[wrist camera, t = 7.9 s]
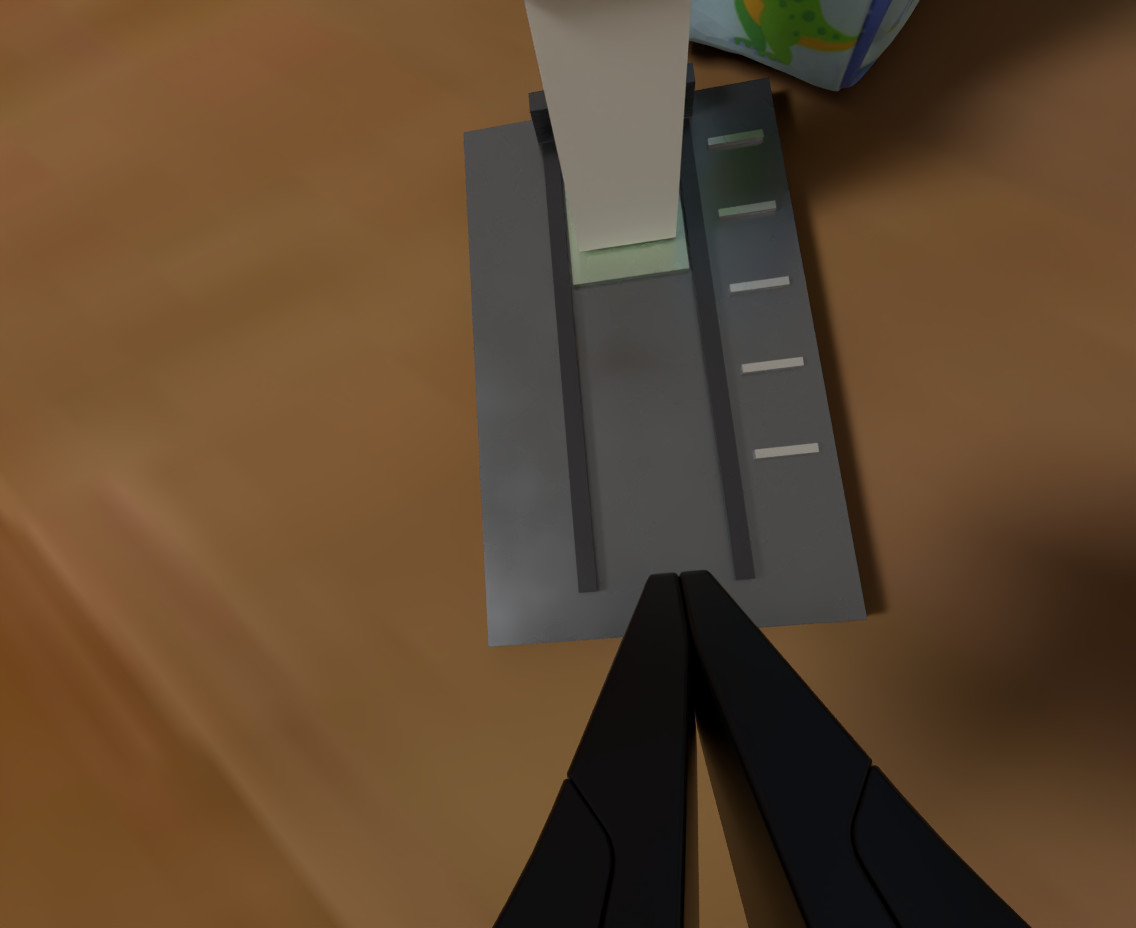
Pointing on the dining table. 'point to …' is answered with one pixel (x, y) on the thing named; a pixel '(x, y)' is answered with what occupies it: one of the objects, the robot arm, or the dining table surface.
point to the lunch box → (803, 34)
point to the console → (651, 389)
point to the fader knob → (615, 111)
